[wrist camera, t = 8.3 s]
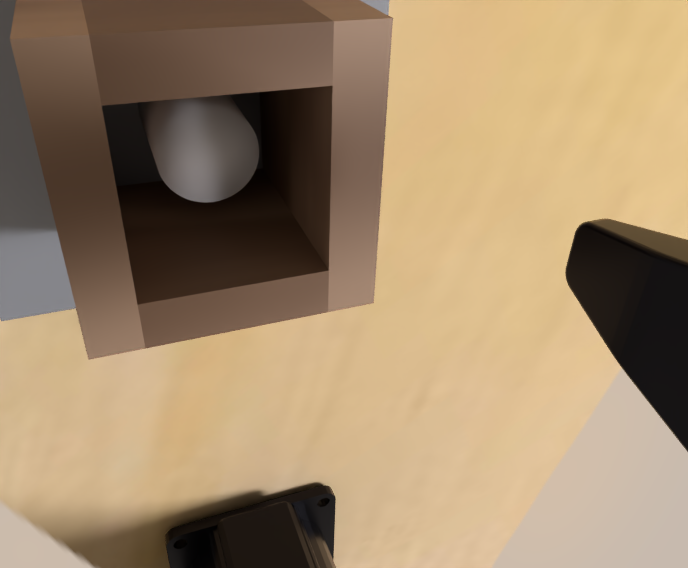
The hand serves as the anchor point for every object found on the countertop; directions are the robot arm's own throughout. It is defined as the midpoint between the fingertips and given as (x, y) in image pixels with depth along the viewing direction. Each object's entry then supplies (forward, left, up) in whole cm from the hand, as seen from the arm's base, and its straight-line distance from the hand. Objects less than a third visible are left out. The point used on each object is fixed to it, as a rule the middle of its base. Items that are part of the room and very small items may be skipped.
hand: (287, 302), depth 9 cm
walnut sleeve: (0, 0, -8) cm, 8 cm away
